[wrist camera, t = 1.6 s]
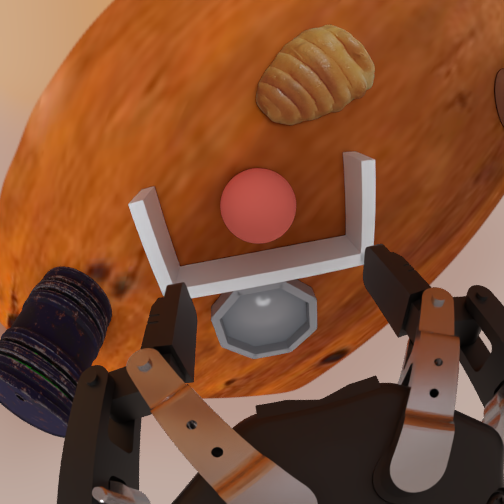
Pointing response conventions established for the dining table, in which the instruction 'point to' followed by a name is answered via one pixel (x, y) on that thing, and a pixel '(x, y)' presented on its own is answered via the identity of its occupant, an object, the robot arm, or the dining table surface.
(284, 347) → the dish
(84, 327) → the dark blue ridged cylinder
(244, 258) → the white u-shaped bracket
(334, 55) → the pastry
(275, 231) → the ball
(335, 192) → the dining table surface
